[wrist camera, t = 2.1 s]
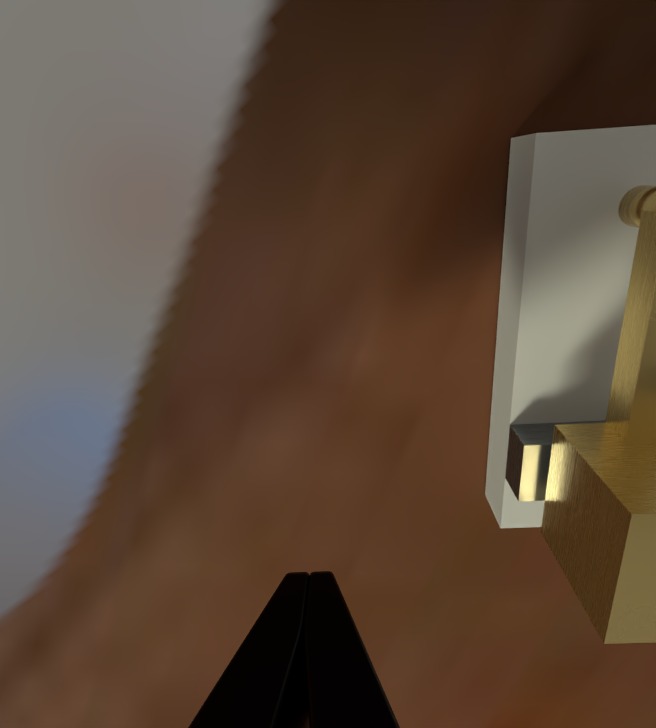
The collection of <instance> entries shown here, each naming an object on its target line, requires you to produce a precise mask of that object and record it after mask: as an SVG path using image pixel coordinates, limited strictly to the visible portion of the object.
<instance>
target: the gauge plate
mask: <svg viewBox="0 0 656 728" xmlns="http://www.w3.org/2000/svg"><path fill="white" fill-rule="evenodd" d="M640 185H653V186H656V125H644V126H630V127H615V128H601V129H587V130H573V131H558V132H544V133H534V134H529V135H524V136H519V137H514V138H511V144H510V158H509V172H508V186H507V200H506V213H505V227H504V241H503V255H502V269H501V282H500V296H499V310H498V324H497V337H496V351H495V365H494V379H493V393H492V406H491V420H490V434H489V448H488V462H487V475H486V489H485V495H486V498H487V500H488V502H489V504H490V506H491V509H492V511H493V513H494V515H495V517H496V520H497V522H498V524H499V526H500V528H522V527H541V526H542V518H543V511H544V503H545V500H544V501H519V502H518V500H517V498H516V496H515V495H514V493H513V491H512V489H511V487H510V485H509V484H508V482H507V480H506V478H505V473H506V462H507V451H508V440H509V429H510V425H515V424H537V423H559V422H581V421H603V420H606V414H607V408H608V403H609V397H610V391H611V386H612V380H613V374H614V368H615V363H616V357H617V351H618V345H619V340H620V334H621V328H622V322H623V317H624V311H625V305H626V300H627V294H628V288H629V282H630V277H631V271H632V265H633V259H634V254H635V248H636V242H637V236H638V231H639V228H637V227H631V226H628V225H626V224H624V223H623V222H622V221H621V219H620V217H619V213H618V208H619V204H620V201H621V199H622V198H623V196H624V195H625V194H626V193H627V192H628V191H629V190H630V189H632V188H634V187H636V186H640Z"/></svg>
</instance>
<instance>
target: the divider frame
mask: <svg viewBox="0 0 656 728" xmlns="http://www.w3.org/2000/svg"><path fill="white" fill-rule="evenodd" d="M584 423H605V420H603V421H581V422H559V423H537V424H515V425H510V429H509V440H508V451H507V462H506V473H505V478H506V480H507V482H508V484H509V485H510V487H511V489H512V491H513V493H514V495H515V496H516V498H517V500H518V502H519V501H544V500H545V495H546V488H547V480H548V472H549V464H550V457H551V449H552V441H553V434H554V426H555V425H562V424H584Z"/></svg>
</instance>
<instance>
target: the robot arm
mask: <svg viewBox="0 0 656 728" xmlns="http://www.w3.org/2000/svg"><path fill="white" fill-rule="evenodd" d="M188 728H400V727H399V725H398V722H397V720H396V718H395V715H394V713H393V711H392V708H391V706H390V704H389V702H388V699H387V697H386V695H385V692H384V690H383V688H382V685H381V683H380V681H379V678H378V676H377V674H376V671H375V669H374V667H373V665H372V662H371V660H370V658H369V655H368V653H367V651H366V648H365V646H364V644H363V641H362V639H361V637H360V635H359V632H358V630H357V628H356V625H355V623H354V621H353V618H352V616H351V614H350V611H349V609H348V607H347V605H346V602H345V600H344V598H343V595H342V593H341V591H340V588H339V586H338V584H337V581H336V579H335V577H334V575H333V573H332V572H330V571H322V572H312V573H311V574H310V575H309V574H308V573H307V572H292V573H288V574H286V575H285V577H284V578H283V580H282V582H281V583H280V585H279V586H278V588H277V589H276V591H275V593H274V594H273V596H272V597H271V599H270V600H269V602H268V603H267V605H266V607H265V608H264V610H263V611H262V613H261V614H260V616H259V618H258V619H257V621H256V622H255V624H254V625H253V627H252V629H251V630H250V632H249V633H248V635H247V636H246V638H245V640H244V641H243V643H242V644H241V646H240V647H239V649H238V651H237V652H236V654H235V655H234V657H233V658H232V660H231V661H230V663H229V665H228V666H227V668H226V669H225V671H224V672H223V674H222V676H221V677H220V679H219V680H218V682H217V683H216V685H215V687H214V688H213V690H212V691H211V693H210V694H209V696H208V698H207V699H206V701H205V702H204V704H203V705H202V707H201V709H200V710H199V712H198V713H197V715H196V716H195V718H194V719H193V721H192V723H191V724H190V726H189V727H188Z"/></svg>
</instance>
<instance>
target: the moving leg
mask: <svg viewBox="0 0 656 728" xmlns="http://www.w3.org/2000/svg"><path fill="white" fill-rule="evenodd" d="M618 213H619V217H620V219H621V221H622V222H623V223H624V224H626V225H628V226H631V227H637V228H639V231H638V236H637V242H636V248H635V254H634V259H633V265H632V271H631V277H630V282H629V288H628V294H627V300H626V305H625V311H624V317H623V322H622V328H621V334H620V340H619V345H618V351H617V357H616V363H615V368H614V374H613V380H612V386H611V391H610V397H609V403H608V408H607V414H606V420H605V423H584V424H562V425H555V426H554V434H553V441H552V449H551V457H550V464H549V472H548V480H547V488H546V495H545V503H544V511H543V518H542V526H541V533H542V535H543V537H544V538H545V540H546V542H547V544H548V545H549V547H550V549H551V551H552V553H553V554H554V556H555V558H556V560H557V561H558V563H559V565H560V567H561V568H562V570H563V572H564V574H565V576H566V577H567V579H568V581H569V583H570V584H571V586H572V588H573V590H574V591H575V593H576V595H577V597H578V599H579V600H580V602H581V604H582V606H583V607H584V609H585V611H586V613H587V614H588V616H589V618H590V620H591V622H592V623H593V625H594V627H595V629H596V630H597V632H598V634H599V636H600V637H601V639H602V641H603V643H604V644H610V643H647V642H656V186H653V185H640V186H636V187H634V188H632V189H630V190H629V191H628V192H627V193H626V194H625V195H624V196H623V198H622V199H621V201H620V204H619V208H618Z"/></svg>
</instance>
